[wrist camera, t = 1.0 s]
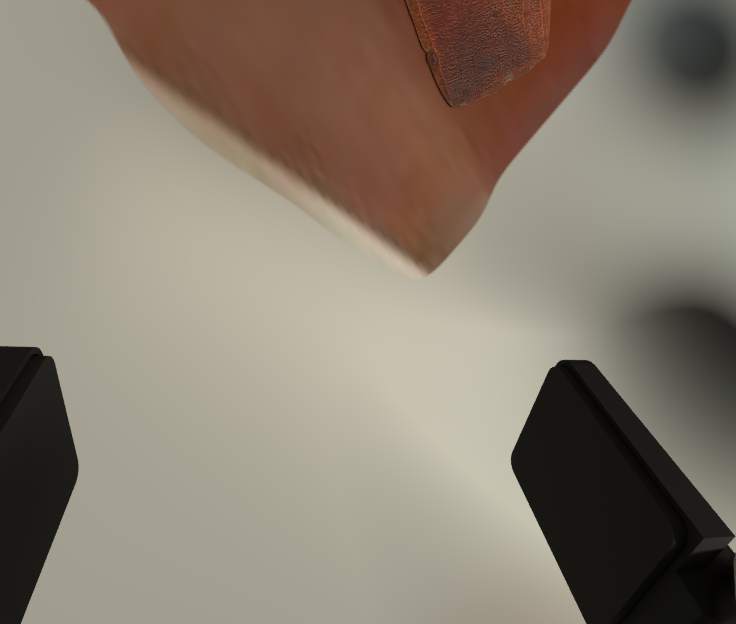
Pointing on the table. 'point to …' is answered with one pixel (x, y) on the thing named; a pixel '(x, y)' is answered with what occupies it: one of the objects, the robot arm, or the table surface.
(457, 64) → the wooden tablet
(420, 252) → the table surface
